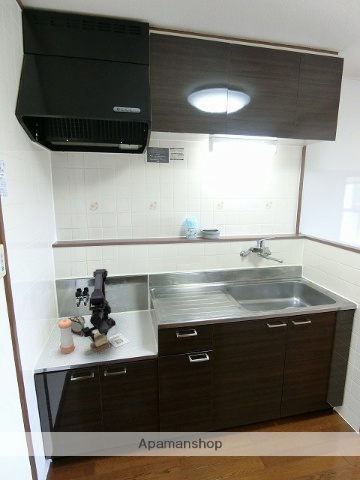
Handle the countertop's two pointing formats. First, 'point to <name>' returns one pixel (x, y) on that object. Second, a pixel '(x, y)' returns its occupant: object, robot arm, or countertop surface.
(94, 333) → the sage brick
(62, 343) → the pepper shaker
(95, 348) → the walnut base
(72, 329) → the food container
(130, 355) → the countertop surface
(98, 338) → the oak brick
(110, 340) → the page
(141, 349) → the countertop surface
